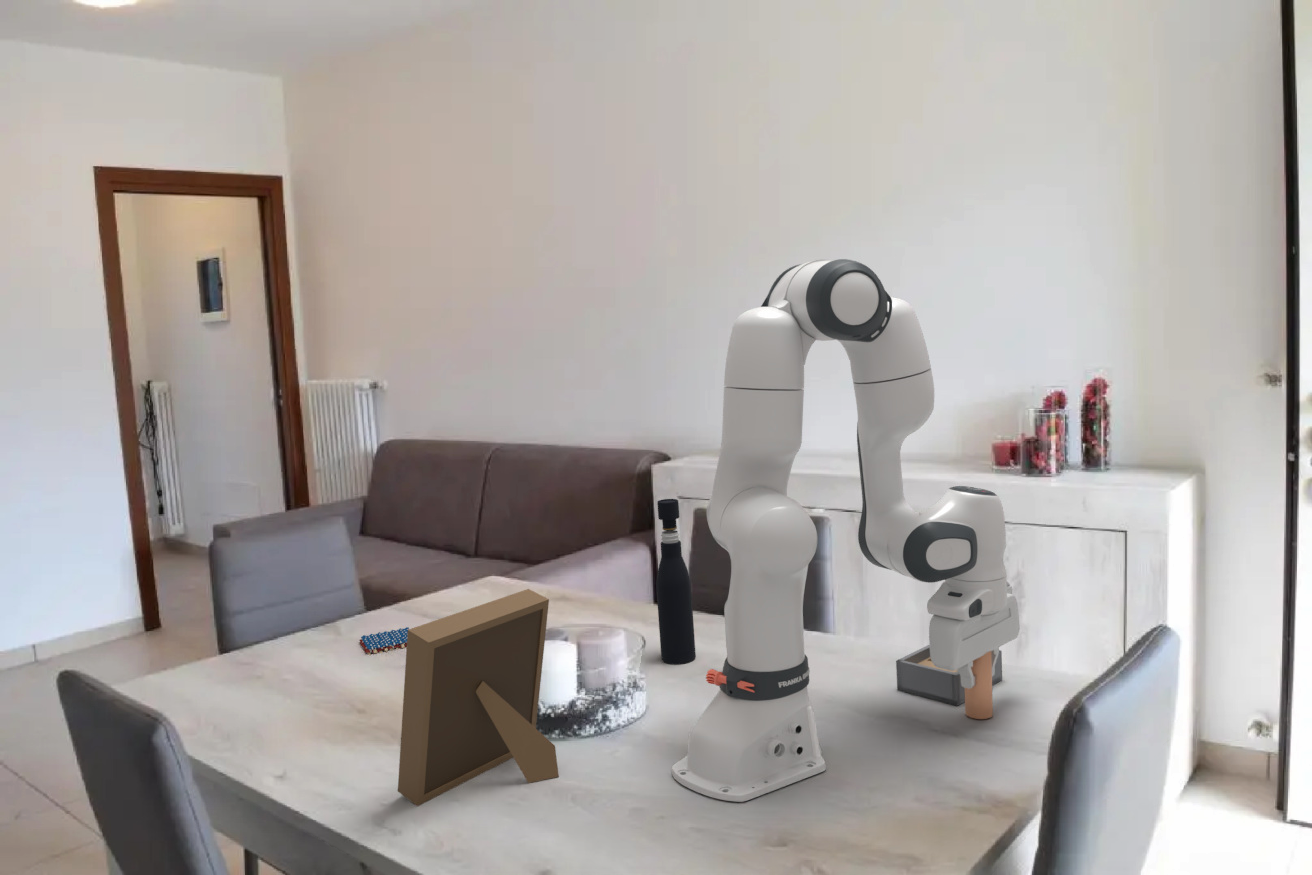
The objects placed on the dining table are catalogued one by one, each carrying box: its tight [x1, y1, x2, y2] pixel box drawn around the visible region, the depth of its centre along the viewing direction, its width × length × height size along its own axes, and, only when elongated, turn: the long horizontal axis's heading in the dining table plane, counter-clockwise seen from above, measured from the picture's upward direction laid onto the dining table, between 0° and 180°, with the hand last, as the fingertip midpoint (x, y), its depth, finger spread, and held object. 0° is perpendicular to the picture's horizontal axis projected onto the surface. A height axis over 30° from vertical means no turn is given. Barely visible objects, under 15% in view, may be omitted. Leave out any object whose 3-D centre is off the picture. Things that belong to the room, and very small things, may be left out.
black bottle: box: [655, 498, 697, 665], centre depth 186 cm, size 6×6×30 cm
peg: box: [964, 651, 994, 720], centre depth 152 cm, size 4×4×10 cm
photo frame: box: [397, 588, 559, 807], centre depth 141 cm, size 15×22×25 cm
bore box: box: [895, 644, 1003, 707], centre depth 165 cm, size 14×11×5 cm
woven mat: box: [358, 627, 410, 656], centre depth 208 cm, size 10×11×2 cm
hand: (978, 681), depth 152 cm, fingers closed on peg, 4 cm apart
